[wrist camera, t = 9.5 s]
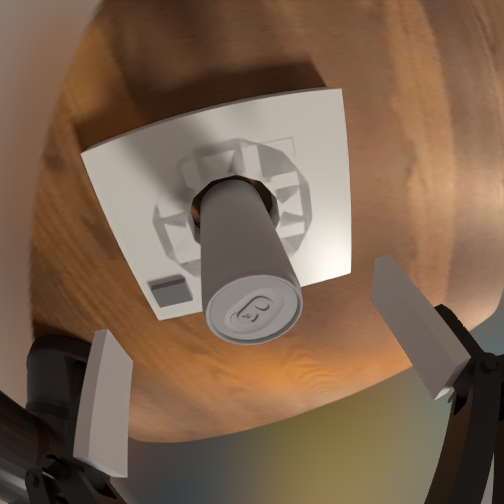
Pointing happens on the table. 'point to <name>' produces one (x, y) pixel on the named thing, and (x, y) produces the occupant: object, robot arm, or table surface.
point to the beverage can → (244, 268)
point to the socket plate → (220, 166)
